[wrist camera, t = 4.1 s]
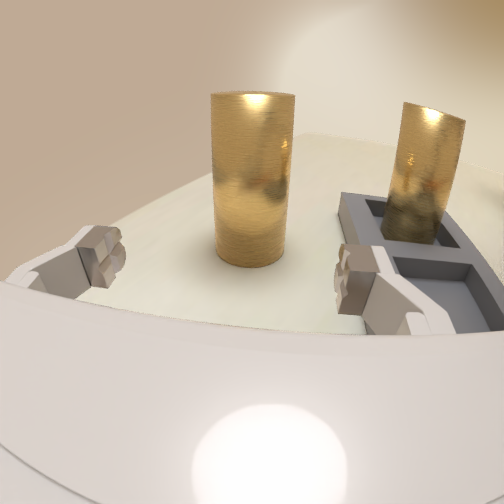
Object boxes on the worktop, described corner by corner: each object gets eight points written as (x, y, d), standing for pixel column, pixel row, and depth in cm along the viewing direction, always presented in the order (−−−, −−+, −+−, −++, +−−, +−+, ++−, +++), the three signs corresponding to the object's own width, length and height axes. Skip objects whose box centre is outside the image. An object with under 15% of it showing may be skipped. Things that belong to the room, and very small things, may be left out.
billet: (284, 232, 24) (294, 93, 18) (282, 270, 20) (295, 98, 13) (223, 227, 24) (221, 91, 18) (208, 263, 20) (200, 96, 14)
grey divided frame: (435, 225, 26) (441, 206, 25) (518, 367, 11) (537, 344, 10) (337, 213, 27) (341, 192, 26) (375, 384, 12) (392, 358, 11)
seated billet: (420, 226, 24) (446, 113, 18) (440, 257, 20) (477, 125, 14) (373, 220, 25) (394, 99, 18) (387, 252, 21) (419, 106, 14)
